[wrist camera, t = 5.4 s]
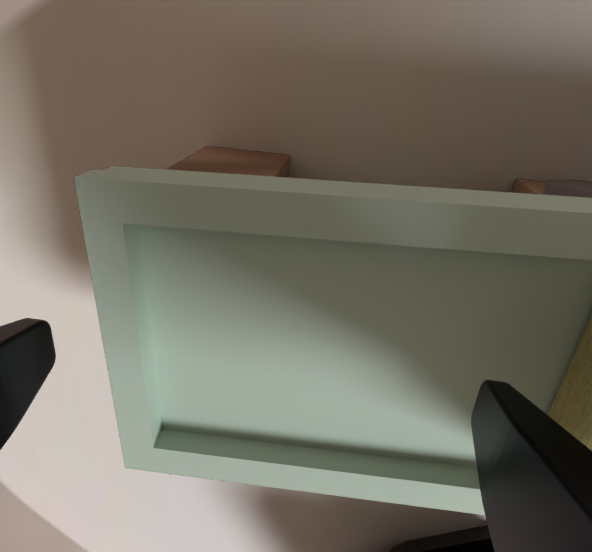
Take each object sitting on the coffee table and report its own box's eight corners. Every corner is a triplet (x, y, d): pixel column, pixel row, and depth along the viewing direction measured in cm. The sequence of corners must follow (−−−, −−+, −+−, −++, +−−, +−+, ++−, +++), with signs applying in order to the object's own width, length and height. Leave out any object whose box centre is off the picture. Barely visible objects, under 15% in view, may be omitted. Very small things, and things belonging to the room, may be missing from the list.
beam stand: (924, 201, 11) (1183, 266, 8) (774, 414, 14) (911, 532, 11) (206, 128, 13) (146, 154, 9) (207, 337, 16) (163, 419, 12)
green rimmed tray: (1217, 225, 8) (1465, 273, 6) (946, 504, 11) (1059, 590, 9) (125, 155, 10) (74, 177, 8) (157, 411, 13) (125, 467, 11)
